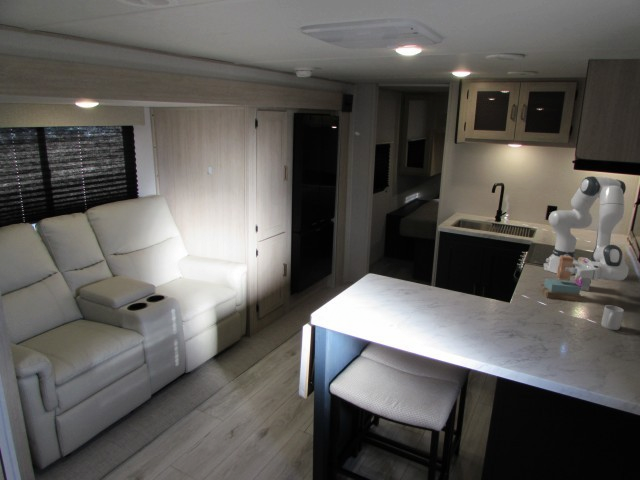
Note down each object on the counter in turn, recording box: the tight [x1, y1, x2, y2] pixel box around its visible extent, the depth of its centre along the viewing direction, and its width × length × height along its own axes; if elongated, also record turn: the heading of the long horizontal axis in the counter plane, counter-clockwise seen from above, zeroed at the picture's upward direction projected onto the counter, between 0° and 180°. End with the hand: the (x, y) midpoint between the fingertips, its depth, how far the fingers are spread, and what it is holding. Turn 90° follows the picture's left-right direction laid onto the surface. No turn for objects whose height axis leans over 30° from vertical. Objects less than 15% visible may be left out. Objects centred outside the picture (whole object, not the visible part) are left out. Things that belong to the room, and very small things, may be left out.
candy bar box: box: [573, 256, 592, 292], centre depth 256 cm, size 11×5×16 cm, turn 168°
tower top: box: [543, 278, 581, 294], centre depth 242 cm, size 10×14×4 cm
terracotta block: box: [556, 255, 573, 281], centre depth 240 cm, size 5×5×12 cm
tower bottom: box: [540, 284, 582, 303], centre depth 243 cm, size 13×16×4 cm
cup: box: [600, 304, 625, 331], centre depth 204 cm, size 7×10×9 cm
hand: (563, 266), depth 240 cm, fingers closed on terracotta block, 5 cm apart
